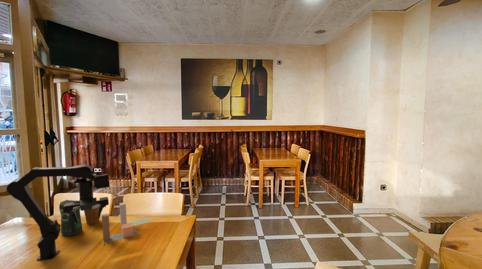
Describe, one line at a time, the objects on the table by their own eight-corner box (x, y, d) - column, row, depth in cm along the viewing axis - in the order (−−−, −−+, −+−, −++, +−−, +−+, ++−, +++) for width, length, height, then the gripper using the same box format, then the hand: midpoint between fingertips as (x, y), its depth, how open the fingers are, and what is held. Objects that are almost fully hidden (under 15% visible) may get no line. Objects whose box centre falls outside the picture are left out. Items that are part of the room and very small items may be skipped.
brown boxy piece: (103, 245, 122) (102, 218, 121) (103, 239, 128) (101, 213, 127) (137, 236, 130) (136, 211, 129) (136, 231, 136) (135, 207, 135)
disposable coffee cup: (79, 224, 145) (78, 205, 144) (93, 218, 154) (92, 199, 153) (92, 226, 142) (90, 207, 141) (105, 220, 151) (104, 201, 150)
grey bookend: (121, 230, 138) (120, 206, 136) (120, 225, 144) (119, 202, 142) (151, 223, 146) (150, 200, 144) (148, 219, 152) (148, 197, 150)
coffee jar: (85, 230, 138) (83, 198, 137) (73, 237, 131) (70, 203, 129) (70, 228, 140) (68, 197, 138) (58, 235, 132) (55, 202, 131)
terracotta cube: (123, 237, 127) (122, 228, 127) (122, 233, 132) (121, 224, 131) (133, 235, 130) (133, 226, 129) (132, 231, 134) (132, 222, 134)
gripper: (60, 199, 108) (63, 232, 109) (108, 191, 117) (110, 222, 119) (63, 192, 117) (65, 223, 119) (107, 185, 127) (109, 214, 128)
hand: (88, 220), depth 121 cm, fingers open, 9 cm apart
